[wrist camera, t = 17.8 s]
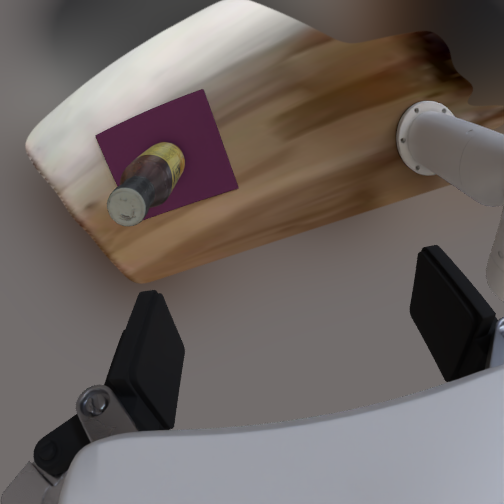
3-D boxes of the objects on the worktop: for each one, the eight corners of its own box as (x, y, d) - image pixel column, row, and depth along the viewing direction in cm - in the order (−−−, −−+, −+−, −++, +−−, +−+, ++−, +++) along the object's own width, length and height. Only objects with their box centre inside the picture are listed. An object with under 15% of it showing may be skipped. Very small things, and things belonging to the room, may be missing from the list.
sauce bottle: (170, 187, 48) (132, 254, 31) (138, 163, 46) (83, 217, 29) (196, 155, 46) (168, 207, 28) (164, 129, 43) (115, 166, 26)
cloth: (203, 88, 41) (202, 89, 41) (238, 187, 49) (238, 188, 48) (95, 135, 43) (95, 135, 43) (135, 222, 51) (135, 223, 51)
